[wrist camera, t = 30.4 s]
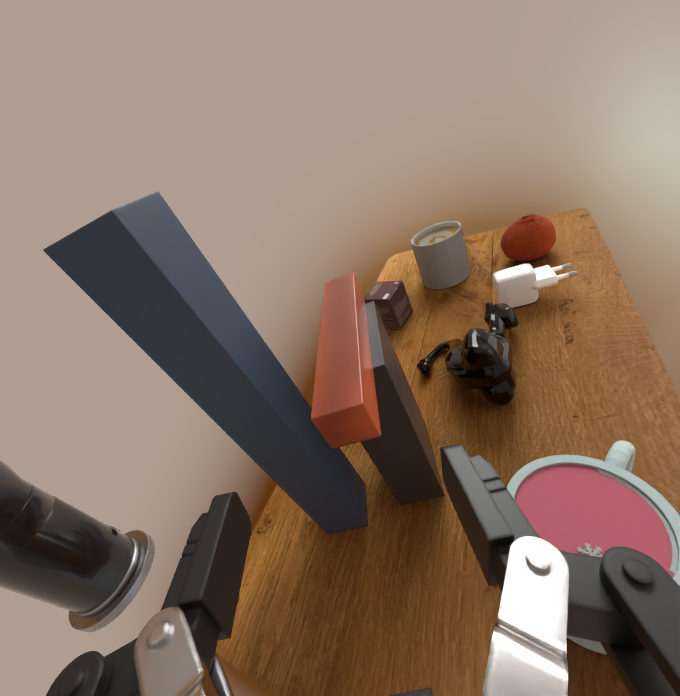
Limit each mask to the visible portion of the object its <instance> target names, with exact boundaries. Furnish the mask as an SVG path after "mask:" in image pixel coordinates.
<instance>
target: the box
mask: <svg viewBox="0 0 680 696" xmlns="http://www.w3.org/2000/svg"><path fill="white" fill-rule="evenodd" d="M364 299H365V304H367V303H370V302H372V301H374V303H375V305H376V308H377V310H378V312H379V315H380V317H381V319H382V322H383V324H384V327H385V328H389V329H401V327H402V326H403V324H404V323H405V321H406V320H407V318H408V317H409V315H410V314H411V312H412V311H413V310H412V307H411V304H410V301H409V298H408V295H407V293H406V290H405V287H404V284H403V281H388V282H377V283H376V284H375V286H374V287H373V288H372V289H371V291H370V292H369V293H368V294H367V295H366V296H365V297H364Z"/></svg>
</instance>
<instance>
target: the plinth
mask: <svg viewBox="0 0 680 696" xmlns="http://www.w3.org/2000/svg"><path fill="white" fill-rule="evenodd" d="M365 308H366V316H367V324H368V332H369V340H370V348H371V356H372V365H373V373H374V381H375V389H376V397H377V405H378V413H379V422H380V430H381V436H379V437H375V438H372V439H368V440H364V441H361V443H362V445H363V446H364V448H365V450H366V451H367V453H368V454H369V456H370V458H371V459H372V461H373V462H374V464H375V465H376V467H377V469H378V470H379V472H380V473H381V475H382V477H383V478H384V480H385V481H386V483H387V484H388V486H389V488H390V489H391V491H392V492H393V494H394V496H395V497H396V499H397V500H398V502H399V503H400V505H403V504H408V503H412V502H417V501H422V500H427V499H431V498H436V497H441V496H445V495H444V491H443V487H442V484H441V480H440V476H439V473H438V469H437V465H436V462H435V458H434V454H433V451H432V447H431V443H430V440H429V436H428V432H427V429H426V425H425V422H424V420H423V417H422V415H421V412H420V410H419V408H418V405H417V403H416V401H415V398H414V396H413V393H412V391H411V389H410V386H409V384H408V381H407V379H406V377H405V374H404V372H403V370H402V367H401V365H400V362H399V360H398V358H397V355H396V353H395V350H394V348H393V346H392V343H391V341H390V339H389V336H388V334H387V331H386V329H385V327H384V324H383V322H382V319H381V317H380V315H379V312H378V310H377V308H376V305H375V303H374V301H372V302H370V303H367V304H365Z"/></svg>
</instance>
